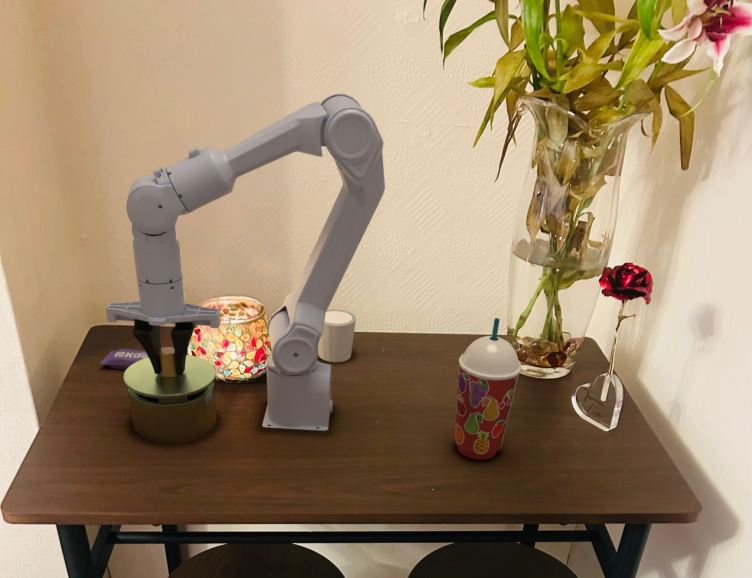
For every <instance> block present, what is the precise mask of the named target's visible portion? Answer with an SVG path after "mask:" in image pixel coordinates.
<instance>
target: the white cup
mask: <svg viewBox="0 0 752 578" xmlns="http://www.w3.org/2000/svg"><path fill="white" fill-rule="evenodd" d="M356 321H357V317H356V316H355V314H354V313H352V312H350V311H347V310H343V309H327V311H326V314H325V321H324V328H323V334H322V336H321V338H320V340H319V344H318V358H320V359H321V360H323V361H326V362H329V363H343V362H346V361H348V360H349V359H351V356H352V351H353V343H354V336H355V330H356Z"/></svg>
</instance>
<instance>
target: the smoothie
mask: <svg viewBox="0 0 752 578" xmlns="http://www.w3.org/2000/svg"><path fill="white" fill-rule="evenodd" d="M500 321H501V320H500V318H499V317H494V320H493V326H492V331H491V335H487V336H482V337H478V338H477V339H475V340H473V341H472V342H471V343H470V344H469V345H468V346H467V348H466V349H465V351H464V352H463V353H462V354H461V355H460V356H459V358H458V372H457V373H458V374H457V389H456V406H455V419H454V420H455V421H454V436H453V439H454V443H455V445H456V448H457V451H458V452H459V454H461V455H462V456H465V457H467V458H469V459H472V460H480V461H482V460H489V459H492V458H494V457H495V456H496V455H497V453H498V451H500V450H501V448H502V446H503V442H504V438H505V434H506V431H507V426H508V422H509V418H510V415H511V411H512V406H513V404H514V398H515V394H516V390H517V386H518V382H519V379H520V373H521V371H522V368H523V367H522V363H521V362H520V360H519V357H518V354H517V351H516V350H515V347H513V345H512V344H511V343H510V342H508V341H507V340H506V339H504V338H502V337H499V336H498V332H499V325H500Z"/></svg>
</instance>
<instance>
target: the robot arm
mask: <svg viewBox="0 0 752 578" xmlns="http://www.w3.org/2000/svg"><path fill="white" fill-rule="evenodd" d="M384 144H385V143H384V139H383V136H382V135H381V132H380V131H379V128H378V126H377V124H376V121H375V120H374V118H373V117H372V115H371V114H370V113H369V112H368V111H367V110H366V109H364V108H362V106H361V105H360V103H359V102H358V101H357V100H356V99H355V98H354V97H353V96H351V95H349V94H345V93H334V94H331V95H329V96H327V97H325V98H324V99H323V100H322V101H321V102H320V101H318V100H317V101H313V102H311V103H307V104H306V105H304V106H302V107H300V108H299V109H297V110H295V111H293V112H291V113H290V114H288V115H286V116H284V117H282V118H281V119H280V118H279V120H277V121H275V122H273V123H271V124H269V125H268V126H266V127H264V128H262V129H261V130H258V131H257V132H256V133H254V134H252V135H250V136H248V137H247V138H245V139H243V140H241V141H240V142H238V143H236V144H234V145H233V146H231V147H229V148H227V149H225V150H220V149H217V148H214V147H213V146H206V147H204V148H202V149H200V147H199V146H198V145H195V146H193V147H191V148H190V149H188V151H187V152H188V156H186V157H185V158H183V159H181V160H179V161H176V162H175V163H173V164H171V165H169V166H167V167H165V168H162V167H161V166H157V167H155V168H154V169H153V170H152V173H153V174H152V175H151V174H146V175H142V176H140V177H138V178H136V179H135V180H134V181H133V182H132V183H131V186H130V188H129V190H128V196H127V198H126V199H127V200H126V205H125V208H126V214H127V217H128V219H129V221H130V223H131V224H132V225H131V234H132V236H133V239H132V249H133V250H132V251H133V257H134V258H133V259H134V267H135V274H136V275H135V276H136V283H137V290H138V299H139V301H129V302H128V301H127V302H126V301H125V302H108V303H109V304H108V305H107V306H106V307H105V313H106V314H105V315H106V320H107V321H106V322H108V323H116V322H117V321H123V322H133V328H132V334H133V337H134V338H135V339H136V340H137V341H138V343H139V344H140V345H141V347H142V348H143V351H146V353H147V355H148V357H149V359H150V361H151V364H152V366H153V369H154V372H155V374H160V373H161V367H160V358H159V350H160V349H161V348H162V344H161V327H163V326H166V324H171V325H172V324H173V325H174V326H173V328H172V330H171V331H170V337H171V342H172V345H173V346H172V347H173V348H174V351H175V361H176V373H177V375H183V373H184V370H185V362H186V355H188V349H189V345H190V343H191V339H192V336H193V334H194V331H195V329H196V326H206V327H210V329H219V328H220V326H221V323H222V321H221V320H222V319H221V309H220V308H210V307H205V306H201V305H197V304H191V303H187V302H186V295H185V286H184V285H185V284H184V274H183V262H182V251H181V250H182V249H181V242H180V239H179V237H178V233H177V232H178V230H177V222H178V218H179V217H180V216H188V215H190V214H192V213H195V212H196V211H198V210H200V209H202V208H203V207H206V206H207V205H210V204H212V203H214V202H216V201H217V200H220V199H222V198H224V197H225V196H227V195H230V194H231V193H233V190H234V187H235V183H236V180H237V179H238V178H239V177H242V176H244V175H246V174H248V173H250V172H252V171H255V170H257V169H260V168H261V167H264V166H266V165H268V164H271V163H273V162H275V161H277V160H280V159H282V158H284V157H287V156H289V155H291V154H294V153H296V152H297V153H301V154H302V153H303V154H306V155H310V156H315V157H323V149H322V147H325V148H326V149H327V152H328V153H329V154H330V155H331V157H332V159H333V160H334V163H335V165H336V168H337V170H338V173H339V176H340V178H341V182H342V186H341V188H340V190H339V193H338V195H337V197H336V199H335V201H334V203H333V206H332V207H331V209H330V212H329V214H328V215H327V216H328V217H327V218H326V221H325V223H324V225H323V227H322V229H321V232H320V234H319V236H318V238H317V241H316V243H315V244H314V247H313V249H312V251H311V253H310V255H309V257H308V260H307V262H306V264H305V266H304V268H303V270H302V272H301V274H300V277H299V279H298V281H297V283H296V286H295V288H294V290H293V291H292V292H291V293H289V294H288V295H287V296H286V297H285V299H284V301H283V303H282V305H281V306H280V307H279V308H278V309H277V310H276V311H274V312H273V313H272V314H271V315H270V317H269V318H268V321H267V324H266V333H267V336H268V338H269V342H270V343H269V344H270V348H271V351H270V353H269V355H268V356H267V357H266V391H267V393H266V394H267V398H266V399H267V406H266V410H265V414H264V417H263V421H262V424H261V427H263V428H271V429H286V430H289V429H290V430H308V431H328V430H329V424H330V416H331V413H333V406H334V405H333V404H334V403H333V401H334V400H332V378H333V377H332V376H333V374H332V373H333V372H332V371H333V369H332V367H333V366H332V364H329V363H324V362H322V361H321V362H320V361H319V360H318V359H319V355H318V344H319V340H320V338H321V336H322V334H323V328H324V321H325V314H326V311H327V310H329V307H330V305H331V302H332V301H333V299H334V296H335V295H336V292H337V290H338V288H339V286H340V285H341V282H342V281H343V278H344V276H345V274H346V272H347V271H348V268H349V266H350V263H351V262H352V259H353V257H354V256H355V254H356V251H357V250H358V248H359V245H360V243H361V241H362V239H363V237H364V235H365V233H366V232H367V229H368V227H369V224H370V223H371V221H372V218H373V216H374V215H375V213H376V211H377V208H378V206H379V204H380V202H381V201H382V198H383V196H384V193H385V189H386V183H385V181H386V180H385V169H384V156H383V149H384Z"/></svg>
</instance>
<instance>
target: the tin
mask: <svg viewBox="0 0 752 578" xmlns="http://www.w3.org/2000/svg"><path fill="white" fill-rule="evenodd" d="M127 392H128V399H129V406H130V414H131V420H132V428H133V429H134V430H135V432H136V433H137V434H138V435H139V436H141V437H143V438H145V439H147V440H151V441H155V442H159V443H160V442H161V443H179V442H187V441H190V440H195V439H198V438H199V437H202V436H203V435H205V434H208V433H209V432H210V431H211V430H212V429H213V428H214V427H215V425H216V423H217V420H218V418H217V404H216V390H215V381H214V382H213V384H212V385H211V386H209V387H208V388H207V389H205V390H203V391H201V392H199V393H196V394H193V395H190V396H187V397H188V400H187V401H183V402H175V403H159V401H158V398H152V397H146V396H142V395H139V394H137V393H134V392H133V391H131V390H130V389H128V388H127Z"/></svg>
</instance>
